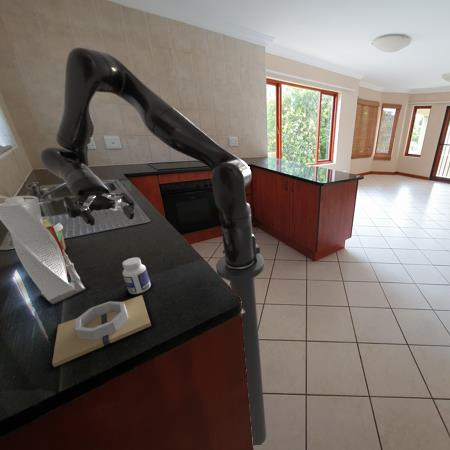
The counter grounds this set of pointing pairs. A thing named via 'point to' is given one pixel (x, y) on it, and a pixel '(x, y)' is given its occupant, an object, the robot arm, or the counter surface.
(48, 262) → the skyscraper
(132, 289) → the pill bottle
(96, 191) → the robot arm
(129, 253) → the counter surface
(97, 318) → the pad dock
